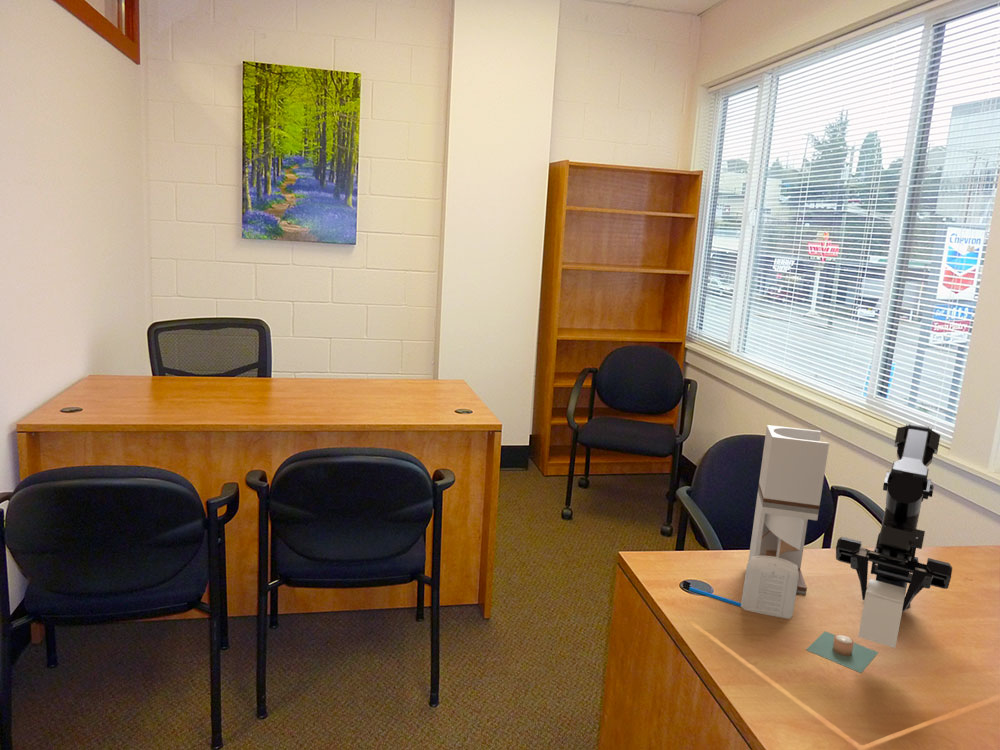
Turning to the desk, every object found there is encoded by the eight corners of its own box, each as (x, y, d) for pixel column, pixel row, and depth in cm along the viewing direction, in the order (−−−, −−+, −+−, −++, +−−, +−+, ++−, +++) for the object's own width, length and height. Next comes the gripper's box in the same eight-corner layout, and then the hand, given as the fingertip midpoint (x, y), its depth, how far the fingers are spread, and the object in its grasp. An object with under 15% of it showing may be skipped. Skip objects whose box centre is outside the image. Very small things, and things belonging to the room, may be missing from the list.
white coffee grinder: (751, 587, 166) (772, 436, 160) (747, 567, 177) (766, 424, 170) (805, 596, 164) (829, 443, 157) (798, 575, 174) (820, 430, 167)
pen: (769, 617, 154) (770, 612, 154) (681, 589, 164) (681, 584, 164) (770, 615, 155) (771, 610, 155) (682, 587, 165) (683, 582, 165)
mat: (824, 633, 149) (824, 631, 149) (877, 655, 142) (878, 652, 142) (805, 652, 141) (805, 649, 141) (860, 675, 135) (861, 672, 135)
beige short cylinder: (840, 644, 144) (842, 632, 143) (856, 654, 141) (858, 642, 140) (828, 648, 142) (830, 636, 142) (843, 657, 139) (845, 645, 139)
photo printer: (791, 613, 156) (800, 558, 154) (793, 623, 152) (801, 566, 150) (740, 603, 159) (747, 549, 157) (740, 612, 155) (748, 557, 153)
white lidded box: (862, 623, 140) (869, 578, 138) (898, 633, 137) (906, 588, 135) (858, 636, 135) (865, 591, 133) (895, 648, 132) (903, 601, 130)
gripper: (845, 496, 139) (826, 572, 132) (961, 521, 130) (947, 605, 123) (845, 522, 147) (827, 595, 140) (954, 548, 138) (941, 628, 131)
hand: (883, 605), depth 133 cm, fingers closed on white lidded box, 6 cm apart
